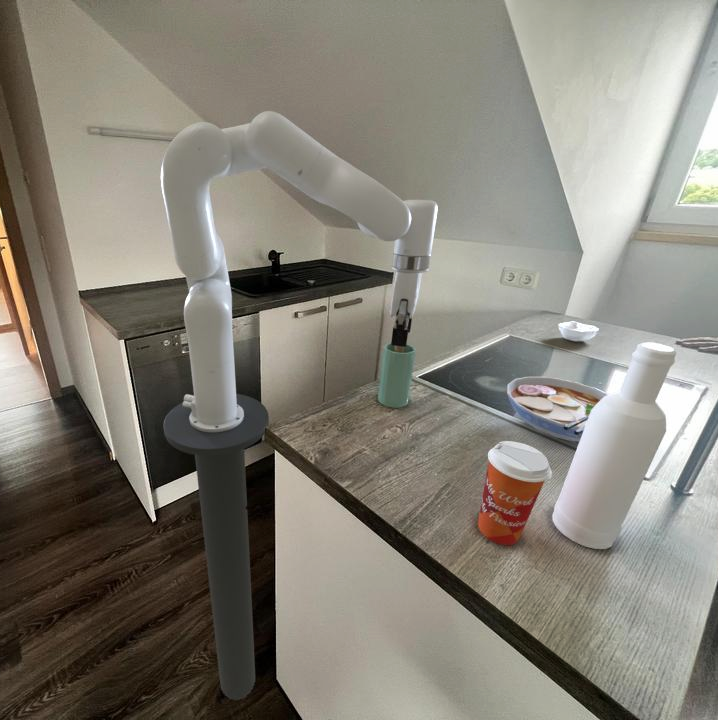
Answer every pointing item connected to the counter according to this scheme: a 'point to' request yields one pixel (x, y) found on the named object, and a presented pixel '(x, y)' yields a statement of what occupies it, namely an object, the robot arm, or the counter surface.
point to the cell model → (577, 331)
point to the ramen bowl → (554, 404)
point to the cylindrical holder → (396, 376)
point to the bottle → (615, 452)
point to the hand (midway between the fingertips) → (400, 338)
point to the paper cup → (511, 490)
